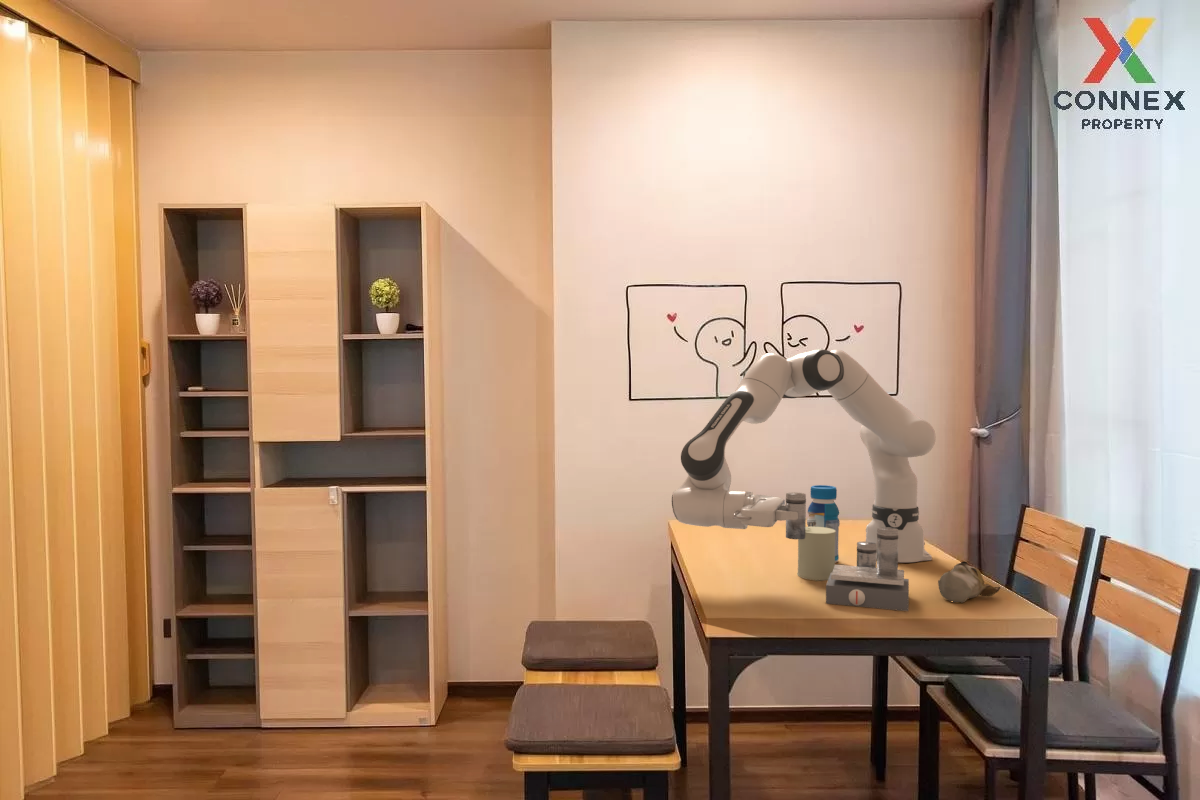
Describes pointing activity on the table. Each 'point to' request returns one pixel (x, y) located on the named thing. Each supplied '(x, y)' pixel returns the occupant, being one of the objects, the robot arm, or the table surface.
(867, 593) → the scale body
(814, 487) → the beverage bottle
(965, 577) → the ceramic sculpture
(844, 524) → the table surface
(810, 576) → the can
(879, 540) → the cylinder
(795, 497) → the cylinder
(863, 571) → the scale pan
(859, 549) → the cylinder
